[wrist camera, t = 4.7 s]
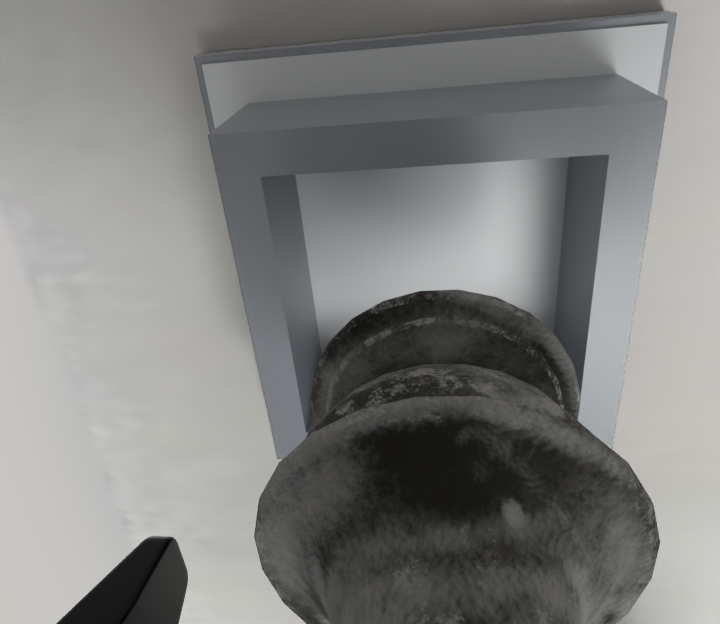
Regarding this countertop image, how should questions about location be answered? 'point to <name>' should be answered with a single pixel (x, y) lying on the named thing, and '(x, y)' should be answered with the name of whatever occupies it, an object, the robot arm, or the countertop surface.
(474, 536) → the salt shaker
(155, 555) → the robot arm
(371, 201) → the dock
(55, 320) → the countertop surface
